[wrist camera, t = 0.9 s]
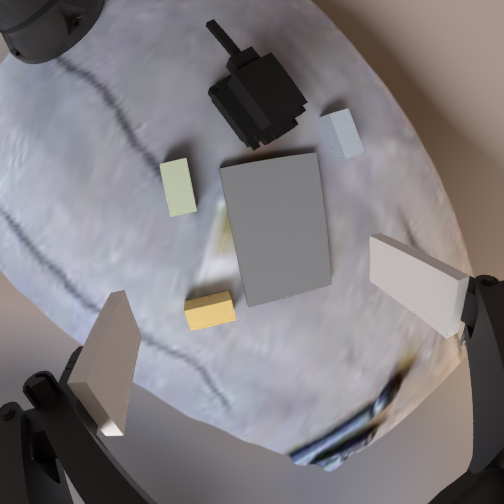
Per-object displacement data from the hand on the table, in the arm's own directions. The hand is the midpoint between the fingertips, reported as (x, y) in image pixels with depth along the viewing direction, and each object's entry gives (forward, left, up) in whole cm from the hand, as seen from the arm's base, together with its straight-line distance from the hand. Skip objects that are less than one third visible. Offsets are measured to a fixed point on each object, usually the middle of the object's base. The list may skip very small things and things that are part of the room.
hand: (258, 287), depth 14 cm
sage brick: (-5, -4, -22) cm, 23 cm away
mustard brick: (+11, -4, -22) cm, 25 cm away
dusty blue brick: (-8, +17, -22) cm, 29 cm away
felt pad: (+3, +7, -22) cm, 23 cm away
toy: (-15, +5, -22) cm, 27 cm away
